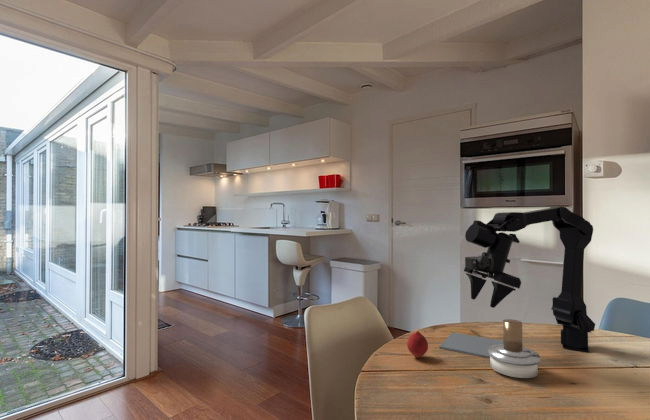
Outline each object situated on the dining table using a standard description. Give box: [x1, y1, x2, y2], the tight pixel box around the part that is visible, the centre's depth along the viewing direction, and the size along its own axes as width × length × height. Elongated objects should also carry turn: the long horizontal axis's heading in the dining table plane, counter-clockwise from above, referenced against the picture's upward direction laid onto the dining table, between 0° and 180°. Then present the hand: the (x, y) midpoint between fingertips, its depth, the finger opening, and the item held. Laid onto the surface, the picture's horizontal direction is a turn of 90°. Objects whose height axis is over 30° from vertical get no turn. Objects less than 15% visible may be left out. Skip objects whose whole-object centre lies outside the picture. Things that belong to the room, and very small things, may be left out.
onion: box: [406, 329, 429, 359], centre depth 101 cm, size 6×6×8 cm
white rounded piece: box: [489, 356, 539, 379], centre depth 91 cm, size 11×11×4 cm
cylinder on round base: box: [488, 318, 541, 366], centre depth 92 cm, size 12×12×9 cm
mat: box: [438, 332, 504, 359], centre depth 110 cm, size 16×16×1 cm
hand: (482, 303), depth 102 cm, fingers open, 9 cm apart
